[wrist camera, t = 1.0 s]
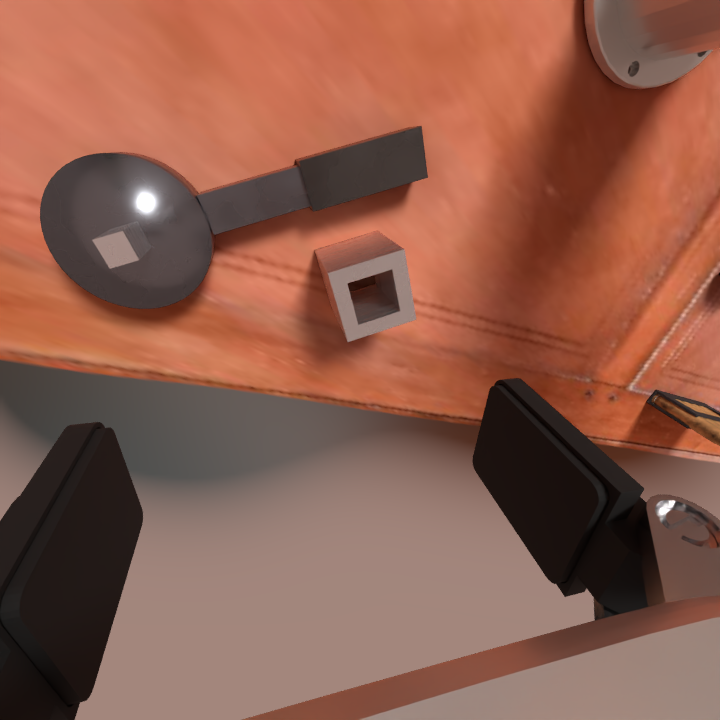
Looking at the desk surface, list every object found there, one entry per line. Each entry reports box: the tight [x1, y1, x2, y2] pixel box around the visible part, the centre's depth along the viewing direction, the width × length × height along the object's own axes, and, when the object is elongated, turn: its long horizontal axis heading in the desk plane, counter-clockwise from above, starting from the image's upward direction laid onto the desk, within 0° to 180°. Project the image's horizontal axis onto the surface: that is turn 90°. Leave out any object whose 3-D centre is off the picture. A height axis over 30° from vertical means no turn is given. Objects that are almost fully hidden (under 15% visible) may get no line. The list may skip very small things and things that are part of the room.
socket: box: [315, 231, 416, 342], centre depth 27 cm, size 5×5×6 cm
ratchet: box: [40, 126, 428, 309], centre depth 23 cm, size 24×9×6 cm, turn 103°
